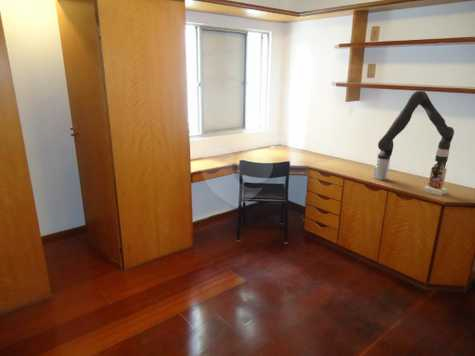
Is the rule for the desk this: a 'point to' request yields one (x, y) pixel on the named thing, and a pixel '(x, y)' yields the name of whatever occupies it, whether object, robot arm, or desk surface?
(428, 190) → the plinth
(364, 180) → the desk surface
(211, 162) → the desk surface
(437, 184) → the candy box
